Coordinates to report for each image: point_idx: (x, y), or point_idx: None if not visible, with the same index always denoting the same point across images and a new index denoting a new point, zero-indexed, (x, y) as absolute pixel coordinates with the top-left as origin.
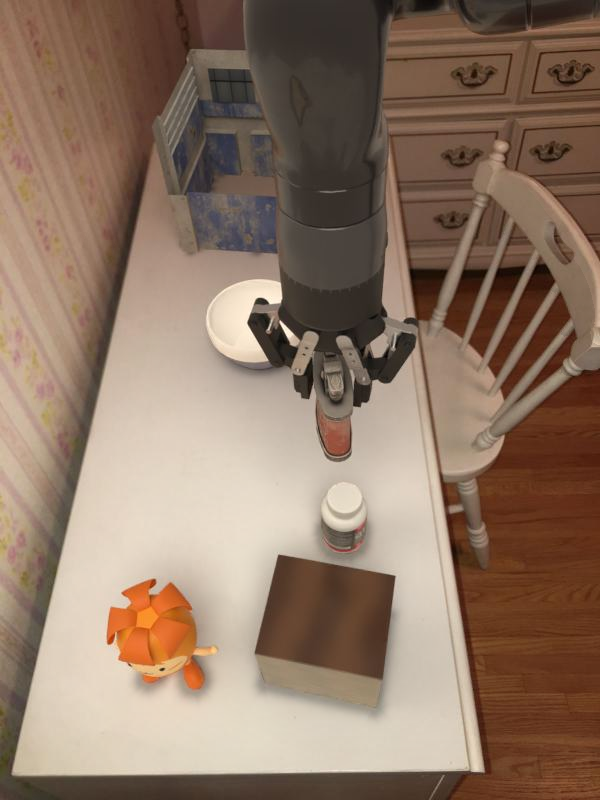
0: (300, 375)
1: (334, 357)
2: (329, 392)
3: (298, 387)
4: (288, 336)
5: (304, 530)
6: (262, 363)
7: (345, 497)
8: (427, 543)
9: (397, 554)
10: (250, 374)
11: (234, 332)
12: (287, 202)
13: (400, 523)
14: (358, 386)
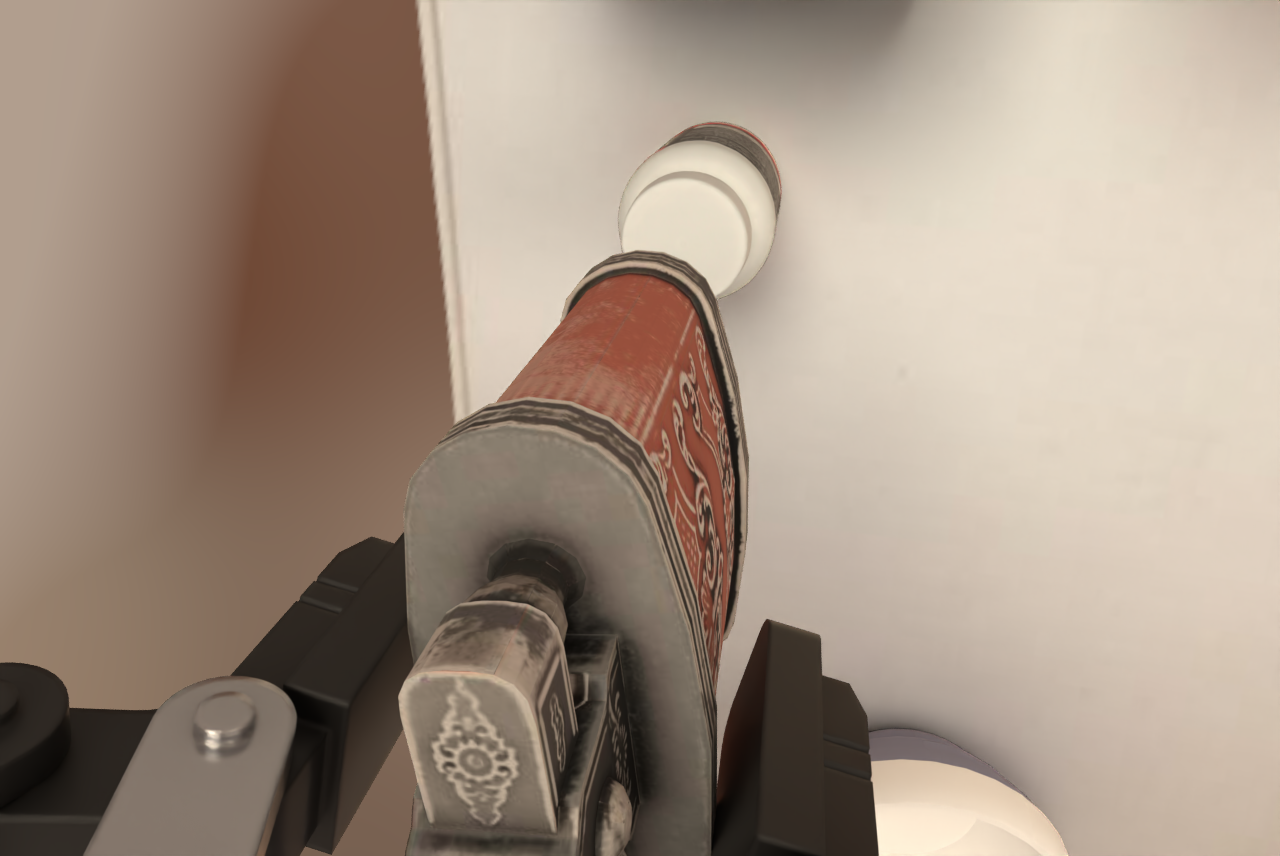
0: (815, 854)
1: None
2: (555, 657)
3: (834, 721)
4: None
5: (834, 211)
6: (908, 752)
7: (680, 242)
8: (474, 145)
9: (561, 114)
10: (941, 718)
11: (976, 851)
12: None
13: (546, 214)
14: (322, 670)
